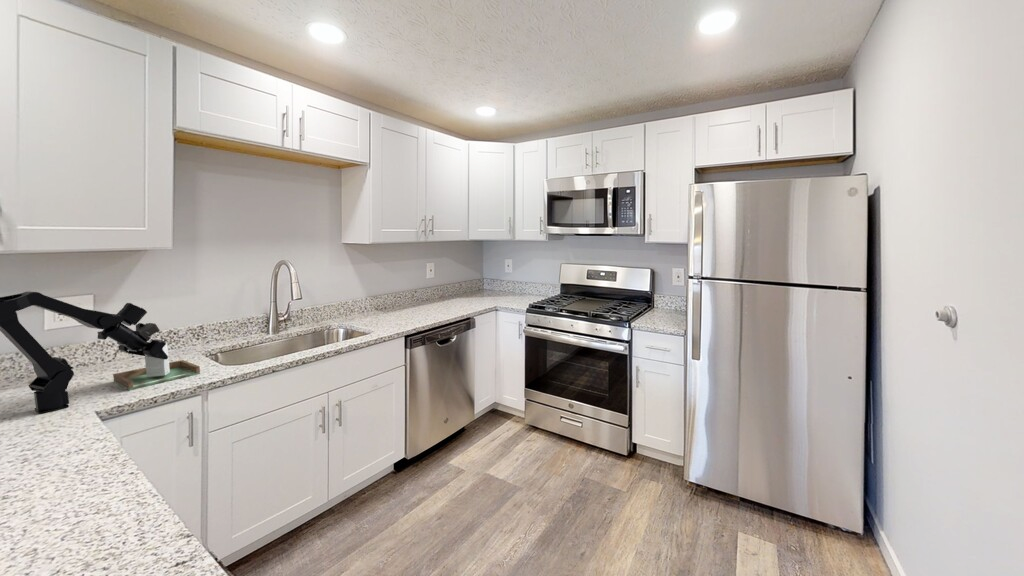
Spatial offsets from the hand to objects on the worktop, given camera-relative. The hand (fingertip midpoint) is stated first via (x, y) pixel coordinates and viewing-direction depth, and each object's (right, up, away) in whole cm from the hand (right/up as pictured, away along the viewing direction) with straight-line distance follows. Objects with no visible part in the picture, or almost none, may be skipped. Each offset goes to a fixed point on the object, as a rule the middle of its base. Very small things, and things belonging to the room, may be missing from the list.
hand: (160, 357), depth 162 cm
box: (-1, -8, 0) cm, 8 cm away
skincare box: (-1, -7, 0) cm, 7 cm away
